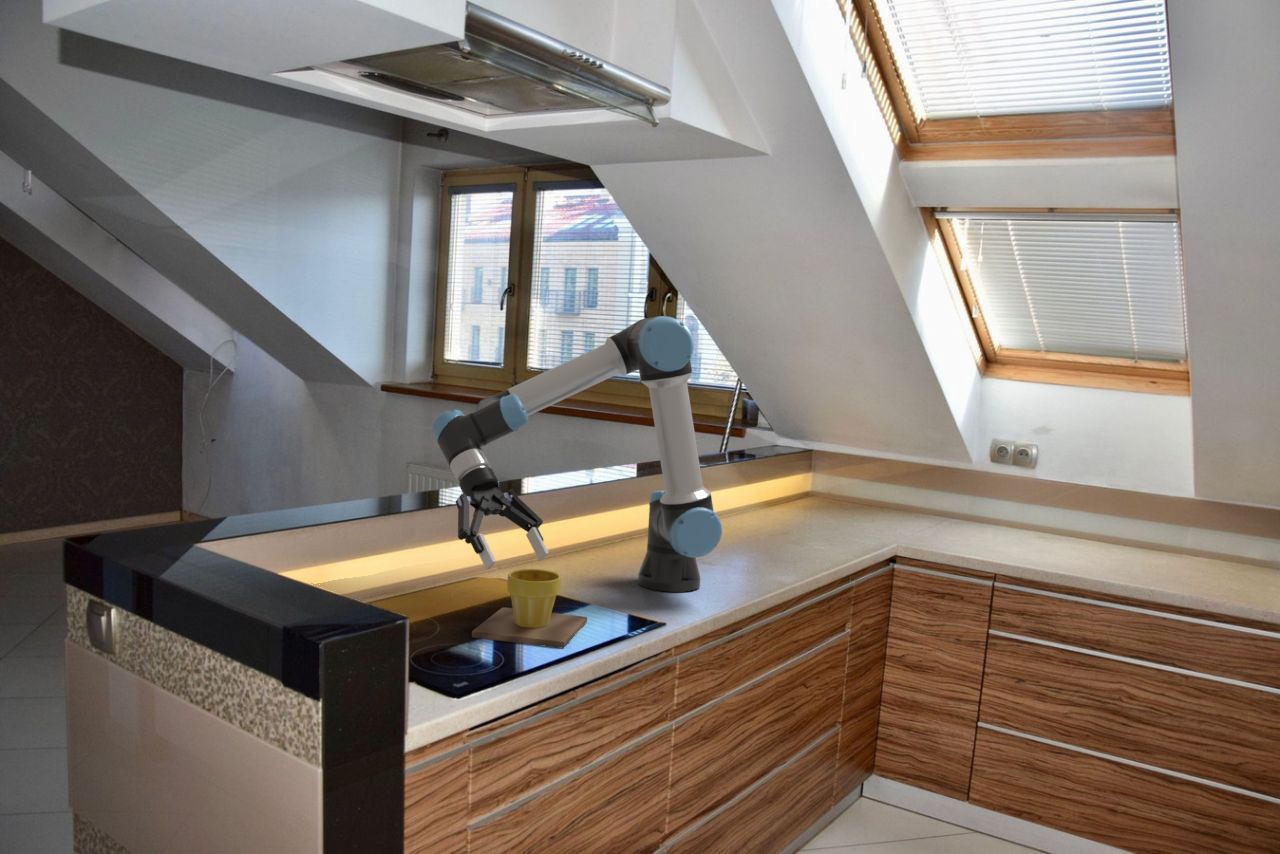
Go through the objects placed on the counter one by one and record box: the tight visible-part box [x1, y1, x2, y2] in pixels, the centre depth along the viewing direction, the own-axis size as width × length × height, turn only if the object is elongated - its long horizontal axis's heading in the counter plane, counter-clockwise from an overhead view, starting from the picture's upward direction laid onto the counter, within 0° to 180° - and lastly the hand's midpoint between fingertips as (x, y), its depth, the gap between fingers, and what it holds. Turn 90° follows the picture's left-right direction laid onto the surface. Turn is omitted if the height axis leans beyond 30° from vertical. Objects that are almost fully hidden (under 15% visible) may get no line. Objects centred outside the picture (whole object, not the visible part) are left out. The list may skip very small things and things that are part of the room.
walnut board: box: [471, 606, 588, 649], centre depth 187 cm, size 18×18×1 cm
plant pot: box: [506, 568, 562, 628], centre depth 187 cm, size 10×10×10 cm
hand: (518, 561), depth 189 cm, fingers open, 13 cm apart
